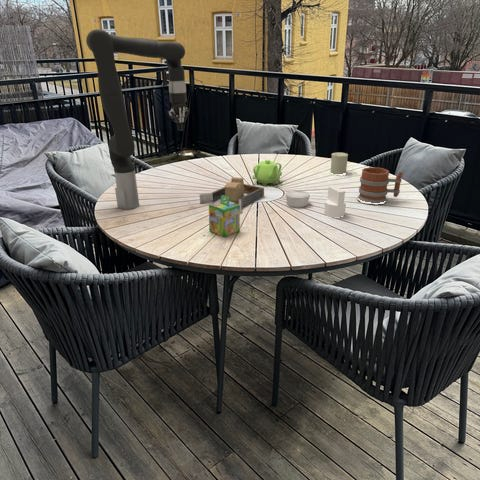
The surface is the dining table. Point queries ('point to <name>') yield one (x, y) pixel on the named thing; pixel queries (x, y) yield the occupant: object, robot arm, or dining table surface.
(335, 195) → the white stepped block
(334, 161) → the can
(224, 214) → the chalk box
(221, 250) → the dining table surface
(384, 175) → the mug
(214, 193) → the bay
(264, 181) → the teapot
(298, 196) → the ramekin
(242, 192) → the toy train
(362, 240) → the dining table surface
